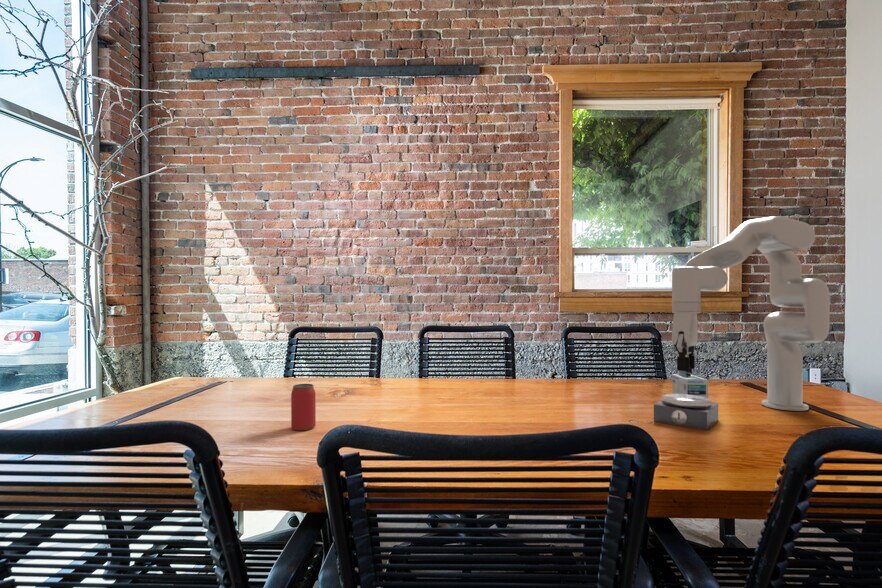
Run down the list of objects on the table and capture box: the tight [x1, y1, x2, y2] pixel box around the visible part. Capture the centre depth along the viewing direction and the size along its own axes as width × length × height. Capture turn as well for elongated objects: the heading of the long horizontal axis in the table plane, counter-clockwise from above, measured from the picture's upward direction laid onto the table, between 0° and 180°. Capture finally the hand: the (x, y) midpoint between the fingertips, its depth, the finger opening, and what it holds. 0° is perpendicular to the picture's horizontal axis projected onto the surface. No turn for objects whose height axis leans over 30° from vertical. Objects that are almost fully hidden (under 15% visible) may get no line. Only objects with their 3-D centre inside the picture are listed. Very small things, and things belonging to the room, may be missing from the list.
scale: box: [653, 399, 719, 431], centre depth 139 cm, size 15×14×5 cm
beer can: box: [290, 383, 317, 432], centre depth 132 cm, size 7×7×12 cm
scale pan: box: [661, 393, 712, 408], centre depth 139 cm, size 13×13×1 cm
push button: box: [674, 342, 696, 378], centre depth 139 cm, size 7×5×10 cm
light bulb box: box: [671, 373, 709, 399], centre depth 153 cm, size 11×7×11 cm, turn 179°
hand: (685, 368), depth 139 cm, fingers closed on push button, 5 cm apart
